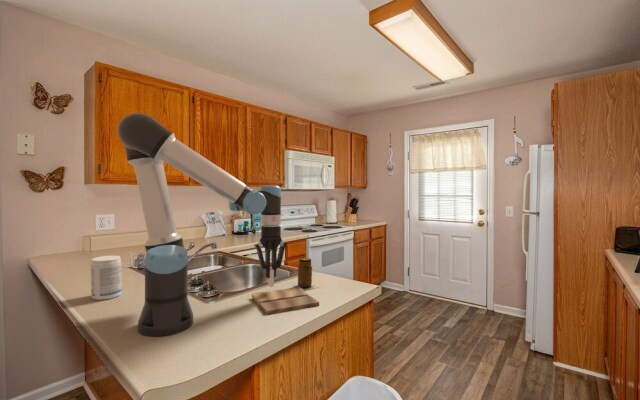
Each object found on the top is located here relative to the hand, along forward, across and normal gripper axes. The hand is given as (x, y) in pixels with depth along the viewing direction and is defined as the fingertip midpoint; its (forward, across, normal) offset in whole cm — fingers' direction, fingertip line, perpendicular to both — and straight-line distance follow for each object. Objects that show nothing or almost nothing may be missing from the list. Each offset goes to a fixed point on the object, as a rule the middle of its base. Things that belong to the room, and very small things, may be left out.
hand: (270, 285), depth 123 cm
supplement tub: (+4, -56, +26) cm, 62 cm away
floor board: (+4, +3, -12) cm, 13 cm away
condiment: (+5, +18, +6) cm, 20 cm away
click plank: (+4, +3, -2) cm, 6 cm away
